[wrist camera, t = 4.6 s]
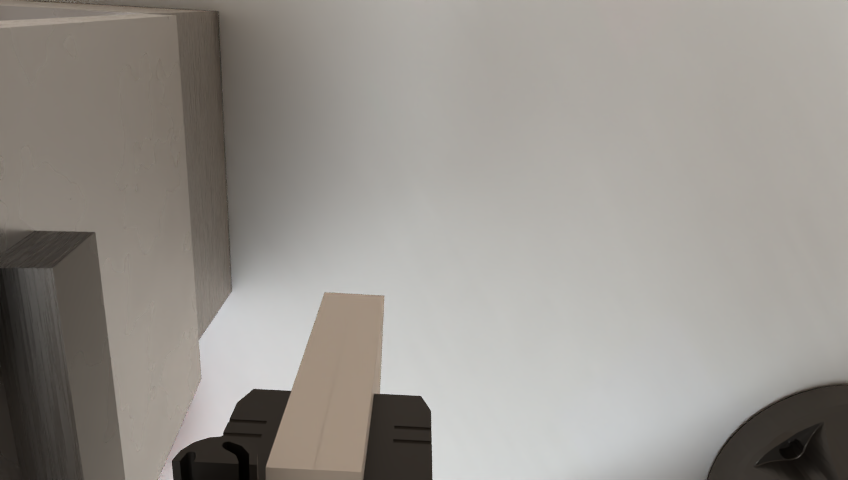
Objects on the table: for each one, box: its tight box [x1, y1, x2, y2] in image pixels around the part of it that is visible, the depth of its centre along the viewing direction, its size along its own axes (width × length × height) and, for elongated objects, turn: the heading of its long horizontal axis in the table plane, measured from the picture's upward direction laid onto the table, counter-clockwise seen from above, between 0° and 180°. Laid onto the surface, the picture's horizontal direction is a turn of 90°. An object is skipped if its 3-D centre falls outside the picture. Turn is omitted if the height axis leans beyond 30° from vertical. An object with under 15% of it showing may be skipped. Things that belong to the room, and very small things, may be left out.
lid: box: [0, 14, 201, 480], centre depth 18 cm, size 16×15×2 cm
